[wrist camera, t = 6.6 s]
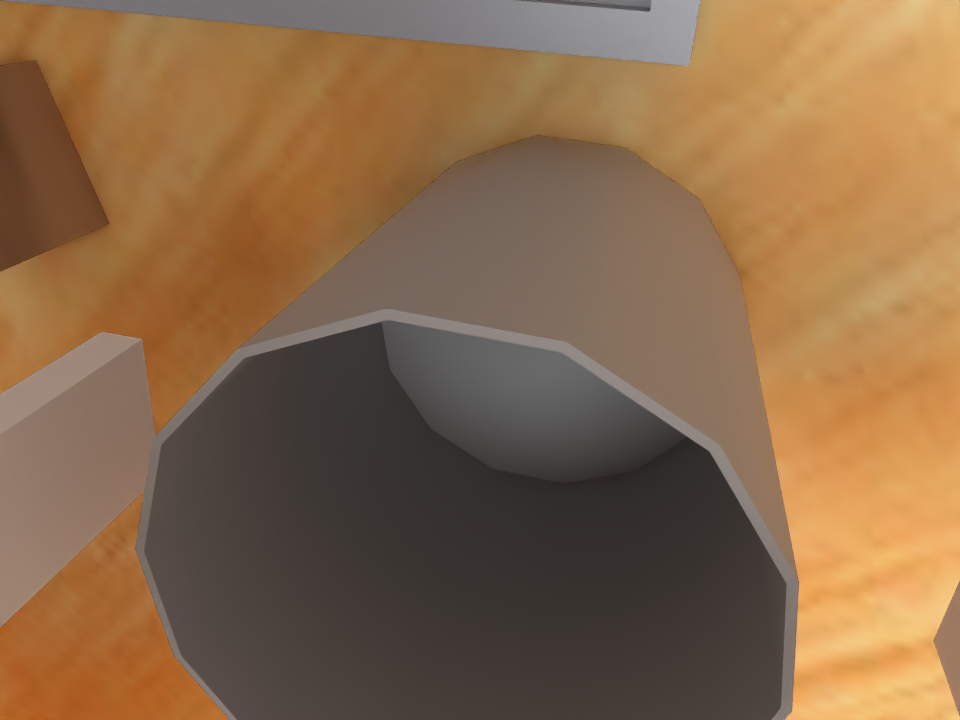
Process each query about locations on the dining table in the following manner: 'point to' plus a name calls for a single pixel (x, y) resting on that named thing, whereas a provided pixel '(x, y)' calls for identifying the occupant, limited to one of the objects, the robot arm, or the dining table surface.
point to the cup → (489, 470)
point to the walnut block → (39, 171)
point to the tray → (461, 22)
